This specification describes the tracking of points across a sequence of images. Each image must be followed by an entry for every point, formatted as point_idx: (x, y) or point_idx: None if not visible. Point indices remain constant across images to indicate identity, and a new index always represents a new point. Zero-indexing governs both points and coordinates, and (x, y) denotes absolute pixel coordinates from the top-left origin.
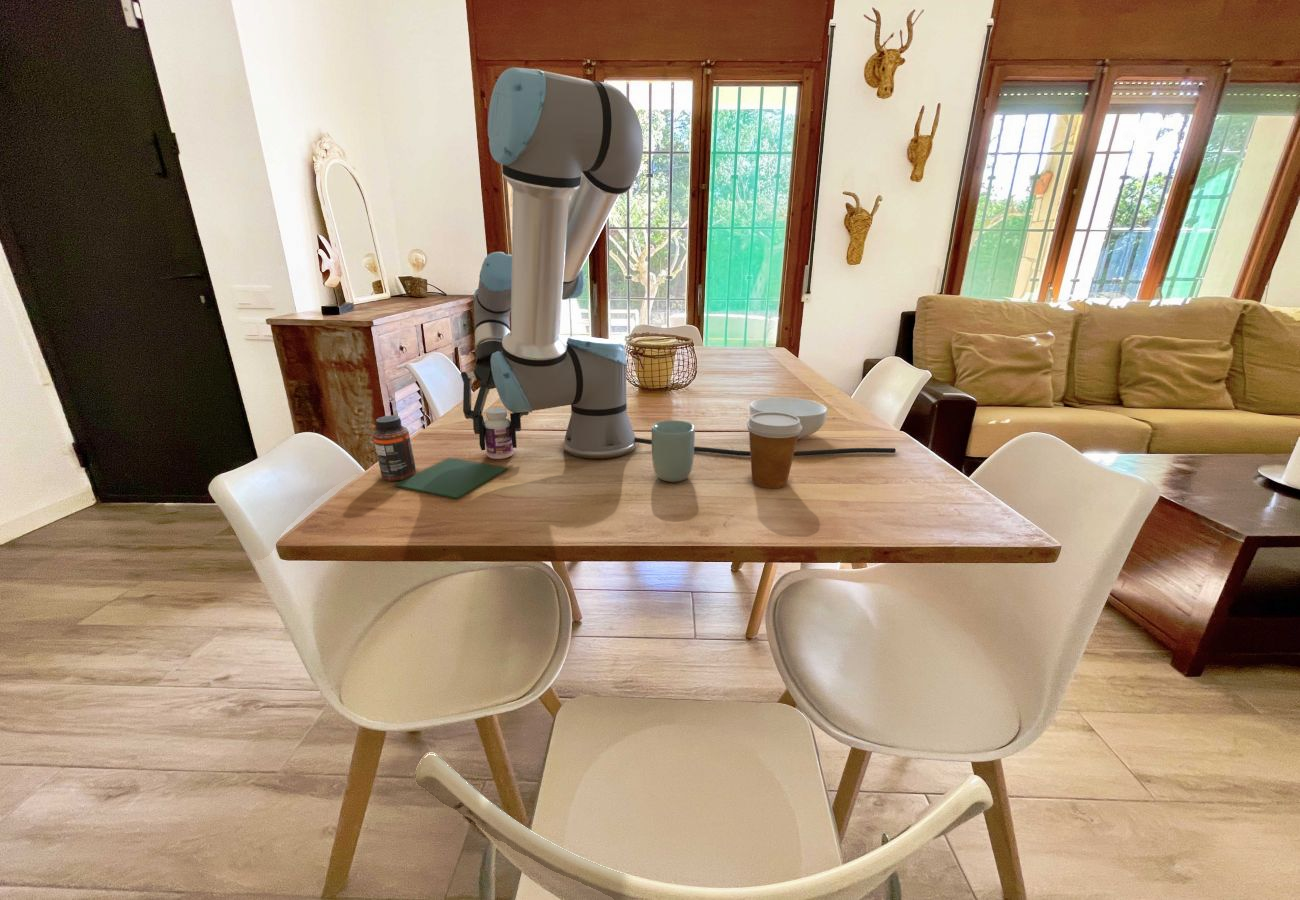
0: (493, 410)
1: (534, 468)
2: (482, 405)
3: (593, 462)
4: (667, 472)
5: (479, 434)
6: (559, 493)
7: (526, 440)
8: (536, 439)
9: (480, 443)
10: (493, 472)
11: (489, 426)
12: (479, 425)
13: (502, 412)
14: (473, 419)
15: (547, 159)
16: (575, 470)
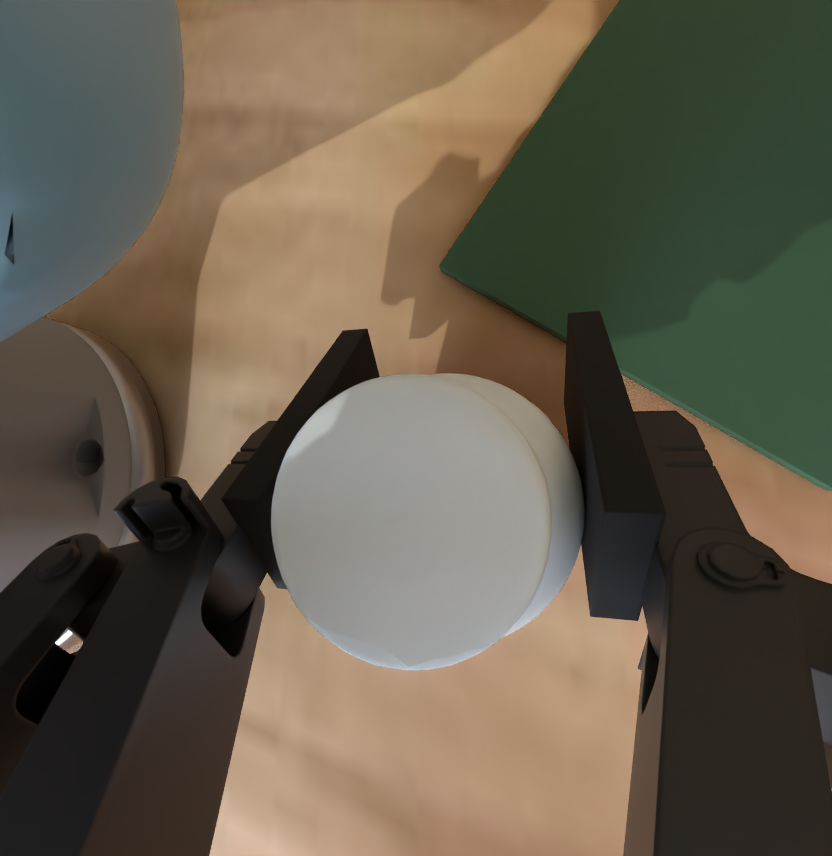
0: (433, 514)
1: (319, 273)
2: (641, 809)
3: (99, 307)
4: None
5: (612, 354)
6: (254, 29)
7: (332, 723)
8: (277, 718)
9: (593, 313)
10: (505, 209)
11: (513, 393)
12: (626, 410)
13: (318, 409)
14: (733, 516)
15: None
16: (172, 232)
